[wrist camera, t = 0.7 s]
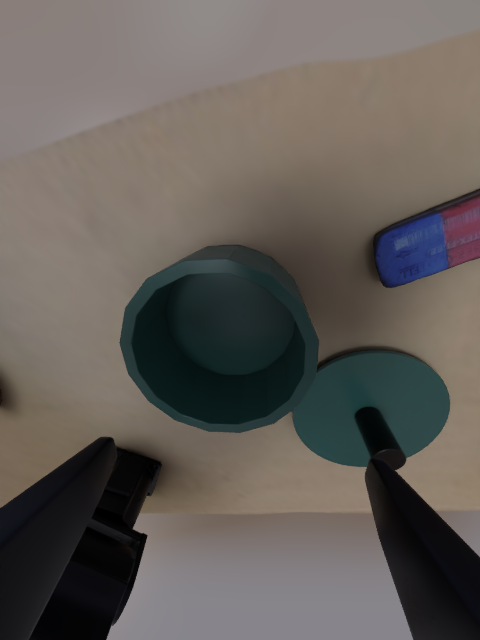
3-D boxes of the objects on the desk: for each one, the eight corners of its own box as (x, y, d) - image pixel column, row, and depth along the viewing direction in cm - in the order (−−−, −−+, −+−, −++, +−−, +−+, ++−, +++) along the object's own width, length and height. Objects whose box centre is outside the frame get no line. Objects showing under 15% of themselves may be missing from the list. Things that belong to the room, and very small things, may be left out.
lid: (388, 472, 27) (415, 533, 22) (271, 432, 27) (271, 485, 21) (477, 377, 22) (541, 428, 17) (332, 324, 21) (352, 360, 16)
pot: (270, 395, 25) (271, 453, 19) (148, 353, 24) (110, 398, 18) (330, 278, 20) (358, 306, 14) (177, 220, 19) (137, 225, 13)
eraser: (546, 161, 15) (580, 154, 14) (546, 226, 17) (577, 227, 15) (360, 235, 18) (370, 237, 16) (372, 287, 19) (383, 293, 18)
